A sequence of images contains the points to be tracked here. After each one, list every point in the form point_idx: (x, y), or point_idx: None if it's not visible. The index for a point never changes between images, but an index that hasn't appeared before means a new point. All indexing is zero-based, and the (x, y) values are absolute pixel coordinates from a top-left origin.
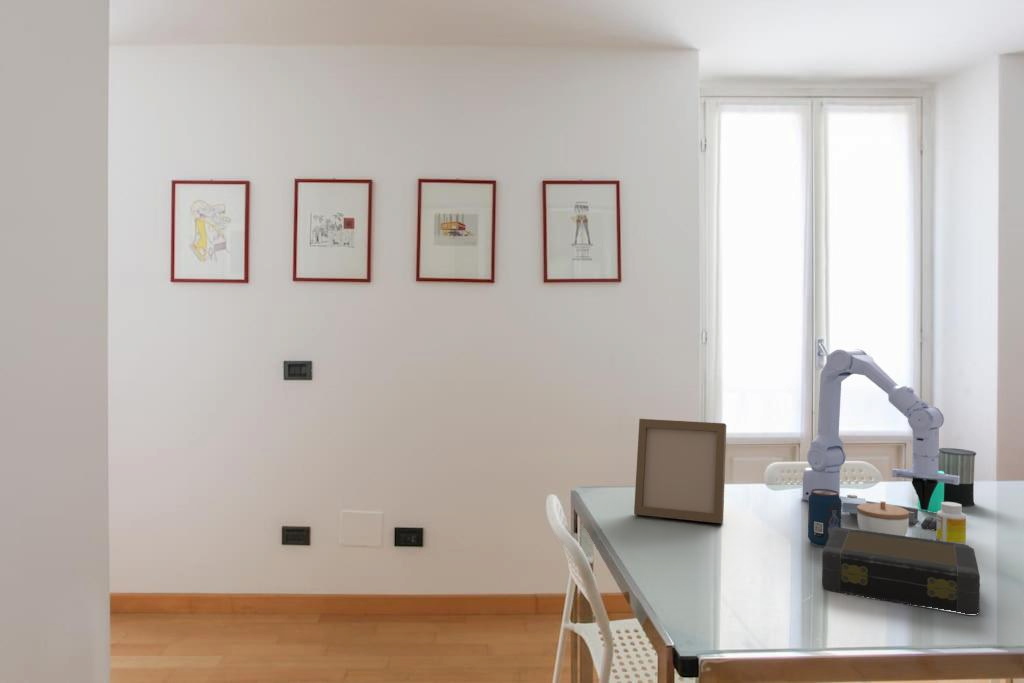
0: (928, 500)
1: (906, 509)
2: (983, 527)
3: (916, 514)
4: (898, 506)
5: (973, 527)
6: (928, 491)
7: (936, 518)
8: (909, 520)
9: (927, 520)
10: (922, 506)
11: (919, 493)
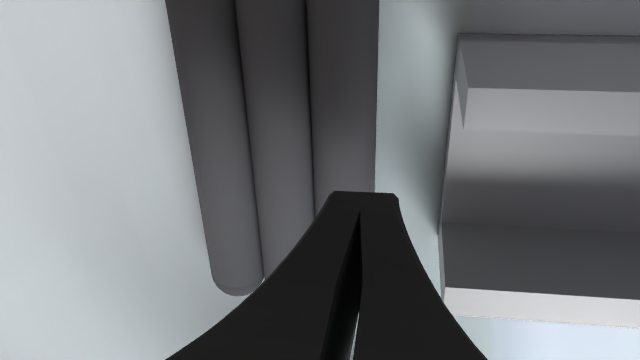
0: (289, 253)
1: (549, 279)
2: (15, 278)
3: (449, 249)
4: (638, 297)
5: (56, 245)
6: (252, 341)
7: (278, 226)
8: (504, 51)
9: (330, 105)
10: (376, 208)
11: (411, 319)
